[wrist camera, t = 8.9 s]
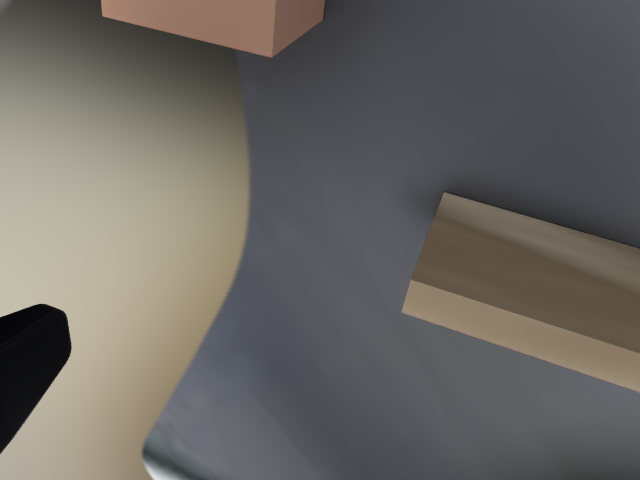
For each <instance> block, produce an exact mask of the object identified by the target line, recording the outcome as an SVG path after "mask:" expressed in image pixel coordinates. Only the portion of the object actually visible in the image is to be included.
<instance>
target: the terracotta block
mask: <svg viewBox="0 0 640 480" xmlns="http://www.w3.org/2000/svg"><path fill="white" fill-rule="evenodd" d="M101 5H102V15H103V17H108V18H112V19H116V20H120V21H124V22H128V23H132V24H136V25H140V26H144V27H149V28H152V29H156V30H161V31H165V32H169V33H173V34H177V35H181V36H185V37H189V38H193V39H197V40H202V41H205V42H209V43H214V44H218V45H222V46H226V47H230V48H234V49H238V50H242V51H246V52H250V53H254V54H258V55H263V56H267V57H271V58H272V57H274V56H275V55H276V54H278V53H279V52H280V51H282V50H283V49H284V48H286V47H287V46H288V45H290V44H291V43H293V42H294V41H295V40H297V39H298V38H299V37H301V36H302V35H303V34H305V33H306V32H307V31H309V30H310V29H311V28H313V27H314V26H316V25H317V24H318V23H320V22H321V21H322V20H323V14H324V5H325V0H101Z"/></svg>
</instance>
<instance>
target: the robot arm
mask: <svg viewBox="0 0 640 480" xmlns="http://www.w3.org/2000/svg"><path fill="white" fill-rule="evenodd" d="M70 353H71V339H70V333H69V327H68V320H67V316H66V314H65V313H64V312H63V311H62V310H59V309H57V308H55V307H52V306H49V305H46V304H37V305H34V306H31V307H28V308H25V309H23V310H20V311H17V312H14V313H11V314H9V315H6V316H3V317H0V454H1V452H2V451H3V450H4V449H5V447H6V446H7V445H8V444H9V443H10V441H11V440H12V439H13V438H14V436H15V435H16V434H17V432H18V431H19V430H20V428H21V427H22V425H23V424H24V423H25V421H26V420H27V418H28V417H29V415H30V414H31V413H32V411H33V410H34V408H35V407H36V405H37V404H38V402H39V401H40V400H41V398H42V397H43V395H44V394H45V392H46V391H47V390H48V388H49V387H50V385H51V384H52V382H53V381H54V379H55V378H56V377H57V375H58V373H59V372H60V371H61V369H62V368H63V366H64V365H65V364H66V362H67V360H68V358H69V356H70Z"/></svg>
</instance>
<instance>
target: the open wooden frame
mask: <svg viewBox="0 0 640 480" xmlns="http://www.w3.org/2000/svg"><path fill="white" fill-rule="evenodd" d="M402 313H405V314H408V315H411V316H414V317H417V318H420V319H423V320H426V321H429V322H432V323H435V324H438V325H441V326H444V327H447V328H450V329H453V330H456V331H459V332H462V333H464V334H467V335H470V336H473V337H476V338H479V339H482V340H485V341H488V342H491V343H494V344H497V345H500V346H503V347H506V348H509V349H512V350H515V351H518V352H521V353H524V354H527V355H530V356H533V357H536V358H539V359H542V360H545V361H548V362H551V363H554V364H557V365H560V366H563V367H566V368H569V369H572V370H575V371H578V372H581V373H584V374H587V375H590V376H593V377H596V378H599V379H602V380H605V381H608V382H611V383H614V384H617V385H620V386H623V387H626V388H629V389H632V390H635V391H638V392H640V249H639V248H636V247H632V246H629V245H625V244H622V243H618V242H615V241H611V240H608V239H605V238H601V237H598V236H594V235H591V234H587V233H584V232H580V231H577V230H573V229H570V228H566V227H563V226H560V225H556V224H553V223H549V222H546V221H542V220H539V219H535V218H532V217H528V216H525V215H521V214H518V213H515V212H511V211H508V210H504V209H501V208H497V207H494V206H490V205H487V204H483V203H480V202H476V201H473V200H470V199H466V198H463V197H459V196H456V195H452V194H449V193H445V192H444V194H443V196H442V199H441V202H440V204H439V207H438V209H437V212H436V215H435V217H434V220H433V222H432V225H431V228H430V230H429V233H428V235H427V238H426V241H425V243H424V246H423V249H422V251H421V254H420V256H419V259H418V262H417V264H416V267H415V269H414V272H413V275H412V277H411V280H410V284H409V287H408V291H407V294H406V298H405V301H404V305H403V308H402Z"/></svg>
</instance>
